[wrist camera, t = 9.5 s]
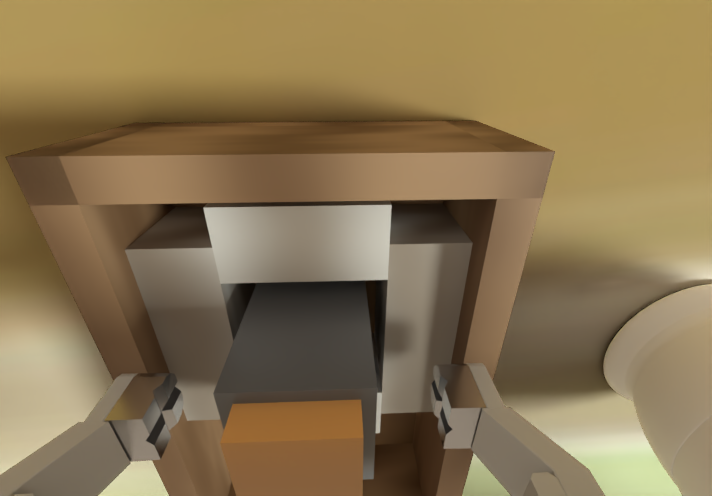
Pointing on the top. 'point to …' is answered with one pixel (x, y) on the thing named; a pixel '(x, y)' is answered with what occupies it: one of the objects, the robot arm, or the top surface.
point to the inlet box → (293, 259)
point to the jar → (671, 382)
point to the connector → (300, 392)
